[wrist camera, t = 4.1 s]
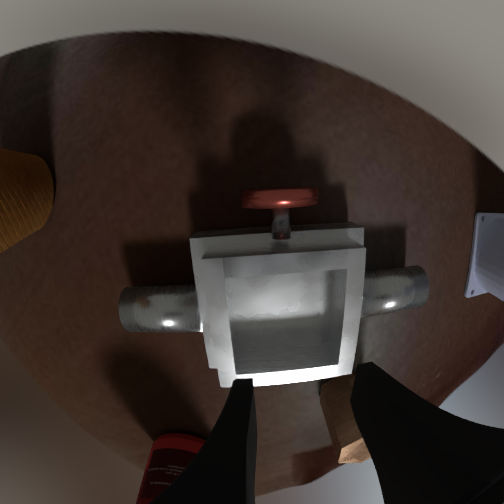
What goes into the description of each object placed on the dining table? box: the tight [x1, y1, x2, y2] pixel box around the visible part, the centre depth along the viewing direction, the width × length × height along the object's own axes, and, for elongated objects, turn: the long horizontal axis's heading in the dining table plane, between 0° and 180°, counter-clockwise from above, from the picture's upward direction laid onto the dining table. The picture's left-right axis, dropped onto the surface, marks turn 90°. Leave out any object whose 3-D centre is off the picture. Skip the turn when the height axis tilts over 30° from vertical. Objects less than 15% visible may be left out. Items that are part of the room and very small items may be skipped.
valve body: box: [119, 187, 429, 387], centre depth 15 cm, size 20×11×4 cm, turn 94°
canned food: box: [136, 433, 206, 504], centre depth 18 cm, size 8×8×11 cm
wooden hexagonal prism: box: [320, 373, 371, 463], centre depth 17 cm, size 4×5×7 cm
